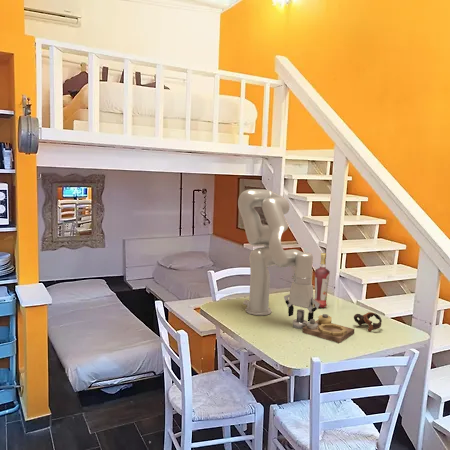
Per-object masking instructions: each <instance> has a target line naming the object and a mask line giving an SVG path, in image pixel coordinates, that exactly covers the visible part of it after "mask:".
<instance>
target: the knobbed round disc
mask: <svg viewBox="0 0 450 450" xmlns="http://www.w3.org/2000/svg"><path fill="white" fill-rule="evenodd" d="M307 322H308V320H306V319H305V309H302V308H301V309H297V310H296V318H295V319H293V320H292V327H293V328H295V329H298V330H302V329H303V327H305V326H307Z"/></svg>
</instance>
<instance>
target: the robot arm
mask: <svg viewBox="0 0 450 450" xmlns="http://www.w3.org/2000/svg"><path fill="white" fill-rule="evenodd" d="M237 206H238V211H239V214H240V216H241V219H242V222H243V226H244V230H245V235H246V239H247V242H248V243H249V244H250V246H263V247H257V248H254V249H253V250H251V251H250V254H249V257H248V258H249V259H248V260H249V261H248V262H249V267H250V274H249V275H250V279H249V297H248V299H249V300H248V299H244V300H243V302H242V304H243V305H245V306H246V307H245V312H246V313H247V314H249V315H254V316H267V315H271V313H272V309H271V308H270V307H269V305H270V304H269V303H270V302H269V301H270V287H271V285H270V284H271V275H270V271H269V268H268V267H272V266H277V267H278V268H283V269H284V268H288V267H289V268H290V267H294V275H292V276H291V279H292V280H293V281H292V282H291V285H290V290H289V294H286V295H284V296H283V298H284V302H285V304H286V305H287V307H288V310H287V314H288V317H292V316H293V315H294V309H295V308H294V306H296V307H300V308H302V309H303V308H304V309H307V310H308V311H309V312H308V313H307V322H310V319H314V312H316V311H317V310H318V309H319V308H318V307H319V305H320V304H319V303H318V302H317V301H316V300H315V298H314V288H313V287H314V285H313V284H312V277H313V263H314V262H313V261H314V256H313V254H312V253H310V252H306V251H305V252H304V251H300V250H299V249H295V248H293V249H286V250H285V249H284V248H283V245H282V235H283V234H284V233H285V232H286V231H287V230H288V229H289V224H288V222H287V219H286V217H285V215H286V214H288V213H289V210H290V203H289V201H288V199H287V198H285V197H283V196H282V195H280V194H278V193H275V192H274V191H272V190H269V189H258V188H257V189H254V188H252V189H251V188H250V189H245V190H244V191H242V192H241V193H240V195H239V196H238V199H237ZM256 207H260V208H261V209H262V212H263V215H264V218H265V220H266V224H267V225H265V224H264V225H263V224H262V220H261V217H260V214H259V213H258V211H257V210H256ZM313 303H314V304H315V305H314V304H313Z"/></svg>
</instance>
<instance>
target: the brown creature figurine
mask: <svg viewBox="0 0 450 450" xmlns="http://www.w3.org/2000/svg"><path fill="white" fill-rule="evenodd" d="M372 317H375V319H377V320H379V322H373V320H370V318H372ZM353 320H354V322H355V323H357V325H358V326H363V325H367V326H368V328H367V329H366V330H367V331H368V332H372V331H375V330H378V329H380V328H381V327H382V322H383V321H382V318H381V317H380V315H379V314H377V313H375V312H371V311H369V312H366V313H364V314H360V313H356V314H354V315H353Z"/></svg>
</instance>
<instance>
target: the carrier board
mask: <svg viewBox="0 0 450 450" xmlns="http://www.w3.org/2000/svg"><path fill="white" fill-rule="evenodd" d="M332 318H333V317H332V316H329V314H326V313H322V315H321V314H320V315H319V316H318V319H317V320H316V319H314V318H313V319H310V322H309V321H307V326H305V327H303V329H301V330H302V331H301V333H302V334H306V335H311V336H312V337H313V336H314V337H317V338H320V339H323V340H327V341H332V342H335V343H338V344H341V343H342V342H344V341H346V340H347V339H348V338H350V337H351V336H353V335H354V334H355V328H351V327H349V326H348V327H347V326H344V325H340V324H336V323H332Z"/></svg>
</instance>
